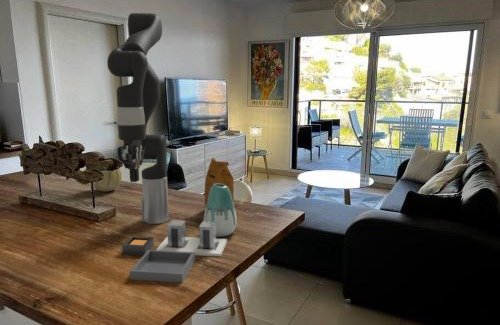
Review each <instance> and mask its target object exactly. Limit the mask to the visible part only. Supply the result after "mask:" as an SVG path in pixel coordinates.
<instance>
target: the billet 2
mask: <svg viewBox="0 0 500 325" xmlns="http://www.w3.org/2000/svg"><path fill="white" fill-rule="evenodd" d="M198 229H199V235H198V236H199V237H198V238H199V240H200V246H199V249H208V250H216V248H217V246H218V244H217V240H216V239H217V237H216V222H204V221H202V222H200V224H199V226H198Z"/></svg>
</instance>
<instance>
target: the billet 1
mask: <svg viewBox="0 0 500 325" xmlns="http://www.w3.org/2000/svg"><path fill="white" fill-rule="evenodd" d="M166 225H167V229H166V230H167V236H168V247H170V248H184V247H185V246H186V244H187V243H186V237H187V232H186V220H178V219H177V220H176V219H171V221H170V222H168V224H166Z"/></svg>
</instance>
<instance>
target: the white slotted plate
mask: <svg viewBox="0 0 500 325" xmlns="http://www.w3.org/2000/svg"><path fill="white" fill-rule="evenodd" d="M216 240H217V245H216V248H215V250H208V249H200V240H199V237H190V236H188V237H187V236H186V244H185V246H184V247H183V248H170V247H168V235H167V236H166V237H165V239H164V240H163V241H162V242H161V243H160V245H159V246H157V248H156V249H155V250H162V251H181V252H195V256H205V257H206V256H207V257H222V256H223V255H222V254H223V252H224V249H225V247H226V245H227V244H228V239H227V238H216Z"/></svg>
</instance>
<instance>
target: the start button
mask: <svg viewBox="0 0 500 325" xmlns="http://www.w3.org/2000/svg"><path fill="white" fill-rule="evenodd" d="M146 241H147V240H133V241H132V242H131V243H130V244H131V245H144V244H145V243H146Z"/></svg>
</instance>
